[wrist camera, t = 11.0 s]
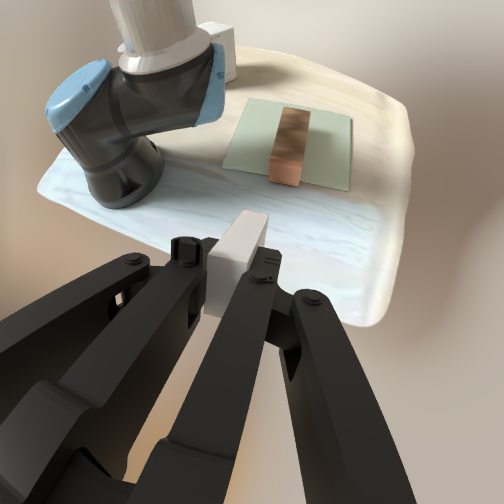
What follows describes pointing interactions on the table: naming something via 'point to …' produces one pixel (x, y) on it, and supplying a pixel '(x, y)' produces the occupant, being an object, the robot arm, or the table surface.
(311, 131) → the mat
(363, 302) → the table surface
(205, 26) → the supplement box
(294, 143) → the walnut block
